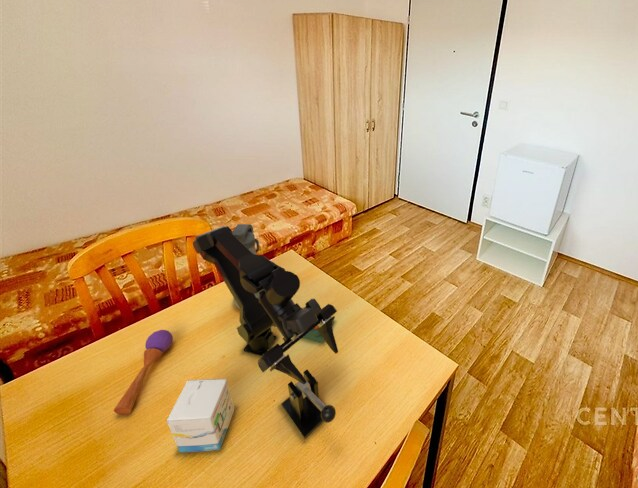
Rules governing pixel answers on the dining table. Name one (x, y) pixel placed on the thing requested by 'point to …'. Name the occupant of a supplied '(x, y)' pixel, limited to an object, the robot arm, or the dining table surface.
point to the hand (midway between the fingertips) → (321, 367)
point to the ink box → (201, 415)
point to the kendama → (145, 368)
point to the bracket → (303, 407)
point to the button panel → (314, 335)
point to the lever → (317, 402)
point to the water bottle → (246, 242)
